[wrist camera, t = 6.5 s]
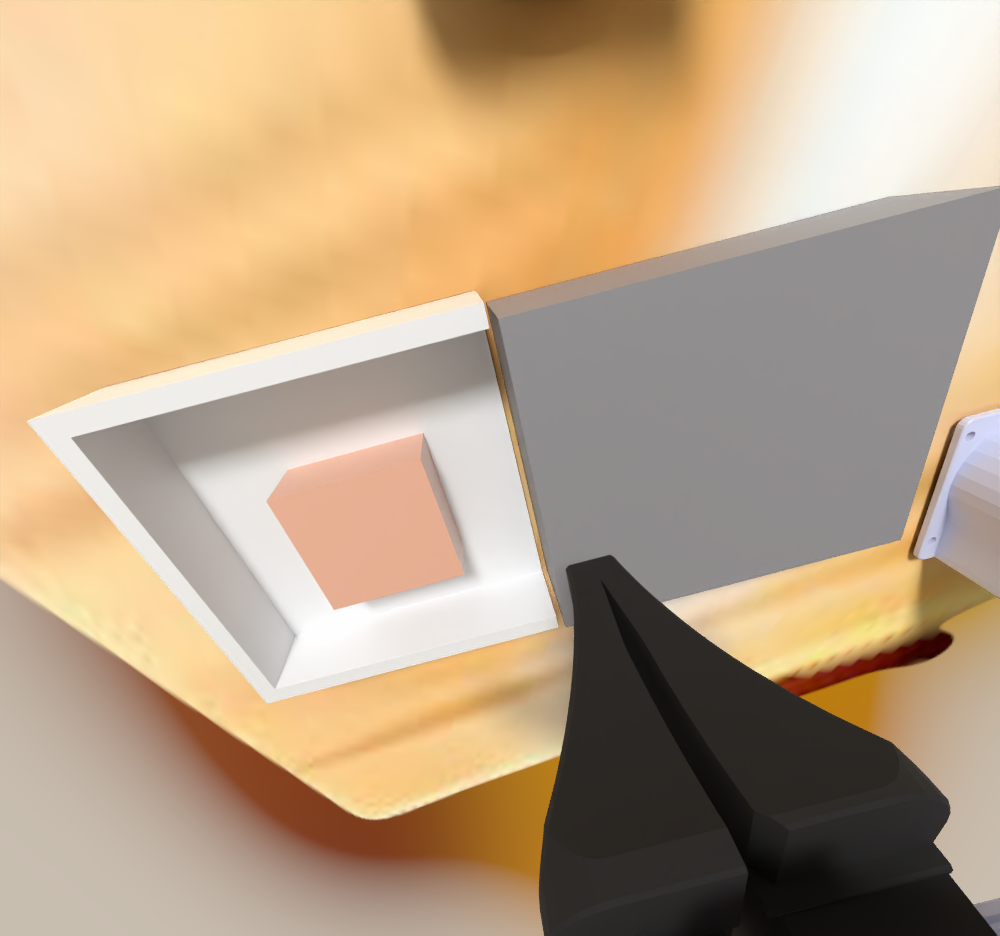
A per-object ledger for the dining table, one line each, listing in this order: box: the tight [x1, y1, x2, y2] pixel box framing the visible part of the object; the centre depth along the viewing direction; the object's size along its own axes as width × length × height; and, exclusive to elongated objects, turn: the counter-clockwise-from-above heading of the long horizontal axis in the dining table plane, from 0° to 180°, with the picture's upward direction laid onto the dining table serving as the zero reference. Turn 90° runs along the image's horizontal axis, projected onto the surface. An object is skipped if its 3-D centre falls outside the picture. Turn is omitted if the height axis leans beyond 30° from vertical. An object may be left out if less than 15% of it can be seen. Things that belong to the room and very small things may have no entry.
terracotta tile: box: [266, 433, 465, 610], centre depth 18 cm, size 6×6×2 cm
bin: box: [27, 291, 558, 703], centre depth 18 cm, size 15×14×4 cm
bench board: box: [486, 186, 1000, 627], centre depth 18 cm, size 14×16×4 cm
